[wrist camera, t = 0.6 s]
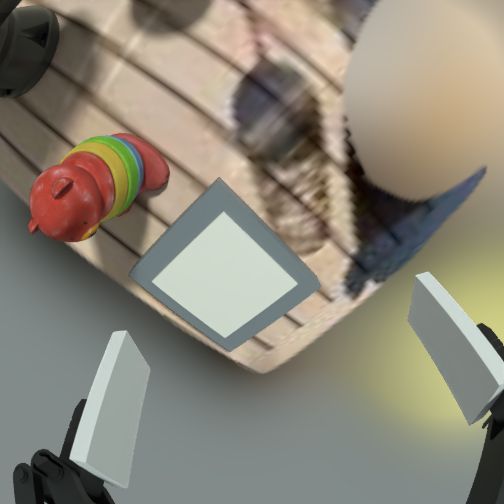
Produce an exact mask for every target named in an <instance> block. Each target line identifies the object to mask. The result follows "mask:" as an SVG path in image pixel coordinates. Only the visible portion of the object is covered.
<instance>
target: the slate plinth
mask: <svg viewBox="0 0 504 504" xmlns="http://www.w3.org/2000/svg"><path fill="white" fill-rule="evenodd" d="M129 276H130V277H131V278H132V279H133V280H135V281H136V282H137V283H138V284H139V285H141V286H142V287H143V288H144V289H146V290H147V291H148V292H149V293H151V294H152V295H153V296H154V297H156V298H157V299H158V300H159V301H161V302H162V303H163V304H164V305H166V306H167V307H168V308H170V309H171V310H172V311H174V312H175V313H176V314H178V315H179V316H180V317H182V318H183V319H184V320H186V321H187V322H188V323H190V324H191V325H192V326H194V327H195V328H196V329H198V330H199V331H201V332H202V333H203V334H205V335H206V336H208V337H209V338H210V339H212V340H213V341H215V342H216V343H218V344H219V345H220V346H222V347H223V348H225V349H226V350H228V351H229V352H231V351H232V350H234V349H235V348H237V347H238V346H240V345H241V344H243V343H244V342H246V341H247V340H249V339H250V338H251V337H253V336H254V335H256V334H257V333H259V332H260V331H262V330H263V329H264V328H266V327H267V326H269V325H270V324H271V323H273V322H274V321H276V320H277V319H278V318H280V317H281V316H283V315H284V314H285V313H287V312H288V311H289V310H291V309H292V308H294V307H295V306H296V305H298V304H299V303H300V302H302V301H303V300H304V299H306V298H307V297H308V296H310V295H311V294H312V293H314V292H315V291H316V290H318V289H319V288H320V287H321V285H320V283H319V281H318V278H317V276H316V275H315V274H314V273H313V272H312V271H311V270H310V269H309V267H308V266H307V265H306V264H305V263H304V262H303V261H302V260H301V259H300V258H299V257H298V256H297V255H296V254H295V253H294V252H293V251H292V250H291V249H290V248H289V247H288V246H287V245H286V244H285V243H284V241H283V240H282V239H281V238H280V237H279V236H278V235H277V234H276V233H275V232H274V231H273V230H272V229H271V228H270V227H269V226H268V225H267V224H266V223H265V222H264V221H263V220H262V219H261V218H260V217H259V216H258V215H257V214H256V213H255V212H254V211H253V210H252V209H251V208H250V207H249V206H248V205H247V204H246V203H245V202H244V201H243V200H242V199H241V198H240V197H239V196H238V195H237V194H236V193H235V192H234V191H233V190H232V189H231V188H230V187H229V186H228V185H227V184H226V183H225V182H224V181H223V180H222V179H221V178H220V177H219V178H218V179H217V180H216V181H215V182H213V183H212V184H211V185H210V186H209V187H208V188H207V189H206V190H205V191H204V192H203V193H202V194H201V195H200V196H199V197H198V198H197V199H196V200H195V201H194V202H193V203H192V204H191V205H190V206H189V207H188V208H187V209H186V210H185V211H184V212H183V213H182V214H181V215H180V216H179V217H178V218H177V219H176V220H175V222H174V223H173V224H172V225H171V226H170V227H169V228H168V229H167V230H166V231H165V232H164V233H163V234H162V235H161V236H160V237H159V238H158V239H157V241H156V242H155V243H154V244H153V245H152V246H151V247H150V248H149V249H148V250H147V251H146V252H145V254H144V255H143V256H142V257H141V258H140V259H139V260H138V261H137V262H136V264H135V265H134V266H133V268H132V270H131V271H130V273H129Z"/></svg>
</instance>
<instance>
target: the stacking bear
mask: <svg viewBox="0 0 504 504" xmlns="http://www.w3.org/2000/svg"><path fill="white" fill-rule="evenodd" d="M169 173H170V171H169V167H168V165H167V163H166V162H165V160H164V159H163V157H162V156H161V155H160V153H159V152H158V151H157V150H156V149H155V148H154V147H153V146H151V145H150V144H149V143H148V142H146V141H144V140H143V139H141V138H139V137H137V136H134V135H131V134H126V133H119V134H114V135H111V136H97V137H93V138H90V139H88V140H86V141H84V142H82V143H80V144H79V145H77V146H76V147H75V148H74V149H72V150H71V151H70V152H69V153H67V154H66V155H65V156H64V158H63V159H62V160H61V162H60V163H59V165H56V166H53V167H51V168H49V169H47V170H45V171H44V172H43V173H42V174H41V175H40V176H39V177H38V178H37V179H36V181H35V182H34V184H33V186H32V189H31V193H30V200H29V204H30V211H31V215H32V218H31V220H30V222H29V226H28V227H29V231H30V233H32V234H34V233H35V232H36V231H37V230H38V229H40V230H41V231H42V232H43V233H44V234H45V235H46V236H48V237H50V238H52V239H55V240H58V241H64V242H79V241H83V240H86V239H88V238H90V237H92V236H93V235H94V234H95V233H96V230H97V229H98V227H99V224H100V222H103V221H105V220H108V219H111V218H113V217H115V216H118V217H119V216H121V215H123V214H124V213H127V212H128V211H129V210H130V208H131V205H132V203H133V200H134V199H135V197H136V196H137V195H138V194H140V193H142V192H144V191H148V190H156V189H160V188H161V187H162V186H163V184H165V183H167V182H168V175H169Z"/></svg>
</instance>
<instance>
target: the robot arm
mask: <svg viewBox="0 0 504 504" xmlns="http://www.w3.org/2000/svg"><path fill="white" fill-rule="evenodd" d="M21 1H22V0H0V98H11V97H17V96H20V95H22V94H24V93H25V92H27V91H28V90H30V89H31V88H32V87H33V86H34V85H35V84H36V83H37V82H38V80H39V79H40V78H41V77H42V75H43V74H44V72H45V71H46V69H47V67H48V66H49V64H50V62H51V60H52V58H53V55H54V53H55V50H56V46H57V42H58V37H59V23H58V20H57V17H56V15H55V14H54V13H53V12H52V11H51V10H49V9H47V8H44V7H41V6H26V7H20V8H16V6H17V5H18V4H19V3H20V2H21ZM408 322H409V323H410V325H411V326H412V328H413V329H414V331H415V332H416V334H417V336H418V337H419V339H420V340H421V342H422V343H423V345H424V347H425V348H426V350H427V351H428V353H429V354H430V356H431V358H432V359H433V361H434V363H435V364H436V366H437V368H438V370H439V371H440V373H441V374H442V376H443V378H444V380H445V381H446V383H447V385H448V387H449V388H450V390H451V392H452V394H453V396H454V397H455V399H456V401H457V403H458V405H459V407H460V408H461V410H462V412H463V414H464V416H465V418H466V420H467V422H468V424H469V425H471V424H473V423H475V422H476V421H478V420H480V419H481V418H483V417H484V415H485V414H486V413H487V412H488V411H489V409H490V411H491V413H492V414H491V416H490V417H489V418H488V419H487V420H486V422H485V423H484V424H483V426H482V428H483V429H484V428H485V427H486V426H487V424H488V423H489V424H488V428H487V434H486V439H485V443H484V448H483V451H482V456H481V459H480V463H479V466H478V470H477V473H476V477H475V479H474V482H473V485H472V488H471V491H470V494H469V497H468V499H467V502H466V504H504V346H503V343H502V342H501V341H500V339H498V337H497V336H496V334H495V333H494V332H493V331H492V329H490V328H489V327H487V326H486V325H484V324H483V323H481V324H478V325H475V324H474V322H473V321H472V320H471V319H470V318H469V316H468V315H467V314H466V313H465V312H464V311H463V309H462V308H461V307H460V306H459V305H458V303H457V302H456V301H455V300H454V299H453V298H452V297H451V296H450V294H449V293H448V292H447V291H446V290H445V289H444V288H443V287H442V286H441V285H440V283H439V282H438V281H437V280H436V279H435V278H434V277H433V276H432V275H431V274H430V273H429V272H425V273H421V274H418V275H416V276H415V281H414V287H413V293H412V299H411V305H410V310H409V315H408ZM149 374H150V367H149V366H148V364H147V363H146V361H145V360H144V358H143V356H142V355H141V353H140V352H139V350H138V348H137V347H136V345H135V343H134V342H133V340H132V338H131V337H130V335H129V333H128V331H117V332H113V335H112V336H111V339H110V342H109V344H108V346H107V348H106V351H105V354H104V356H103V359H102V361H101V364H100V366H99V369H98V371H97V374H96V377H95V379H94V382H93V385H92V388H91V391H90V394H89V396H88V399H82V400H81V401H80V402H79V404H78V405H77V407H76V408H75V410H74V413H73V416H72V420H71V422H70V425H69V427H70V428H68V431H67V434H66V438H65V441H64V444H63V447H62V451H61V454H60V457H59V458H58V457H57V456H55V455H54V454H53V453H51V452H50V451H48V450H46V449H41V450H38V451H37V452H36V453H35V454H34V456H33V457H32V460H31V466H29V465H28V464H26V463H20V464H18V465H17V466H16V468H15V470H14V472H13V483H14V494H15V503H16V504H44V502H46V503H47V504H115V503H114V501H113V499H112V498H111V496H110V495H109V493H108V491H107V489H106V488H105V487H104V486H103V484H104V481H105V482H106V483H108V484H110V485H112V486H116V487H122V488H128V484H129V477H130V471H131V464H132V458H133V452H134V446H135V441H136V435H137V430H138V425H139V420H140V415H141V410H142V405H143V401H144V396H145V391H146V387H147V382H148V378H149Z"/></svg>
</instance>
